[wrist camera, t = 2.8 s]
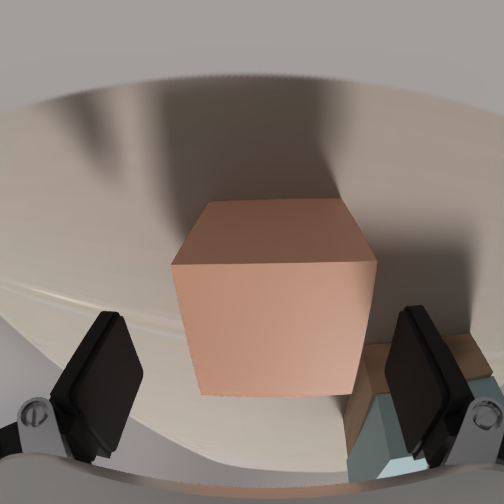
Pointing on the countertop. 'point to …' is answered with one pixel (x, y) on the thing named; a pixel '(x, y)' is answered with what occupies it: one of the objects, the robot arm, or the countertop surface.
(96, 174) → the countertop surface
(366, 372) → the tower base block
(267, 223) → the terracotta cube
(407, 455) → the tower top block
